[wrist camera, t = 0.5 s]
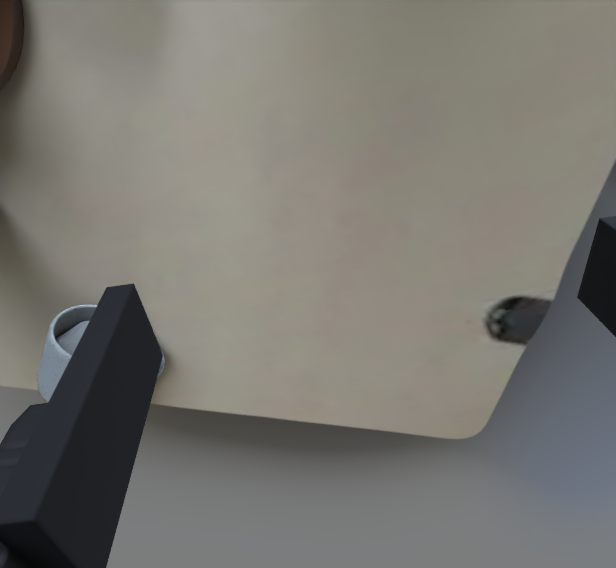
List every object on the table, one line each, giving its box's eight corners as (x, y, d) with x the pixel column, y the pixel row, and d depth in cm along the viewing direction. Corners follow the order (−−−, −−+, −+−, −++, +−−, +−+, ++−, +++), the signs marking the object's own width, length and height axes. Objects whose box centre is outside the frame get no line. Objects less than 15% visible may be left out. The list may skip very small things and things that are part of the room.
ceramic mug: (54, 352, 47) (14, 407, 40) (74, 292, 43) (33, 341, 37) (153, 387, 49) (131, 444, 43) (179, 333, 46) (159, 386, 39)
